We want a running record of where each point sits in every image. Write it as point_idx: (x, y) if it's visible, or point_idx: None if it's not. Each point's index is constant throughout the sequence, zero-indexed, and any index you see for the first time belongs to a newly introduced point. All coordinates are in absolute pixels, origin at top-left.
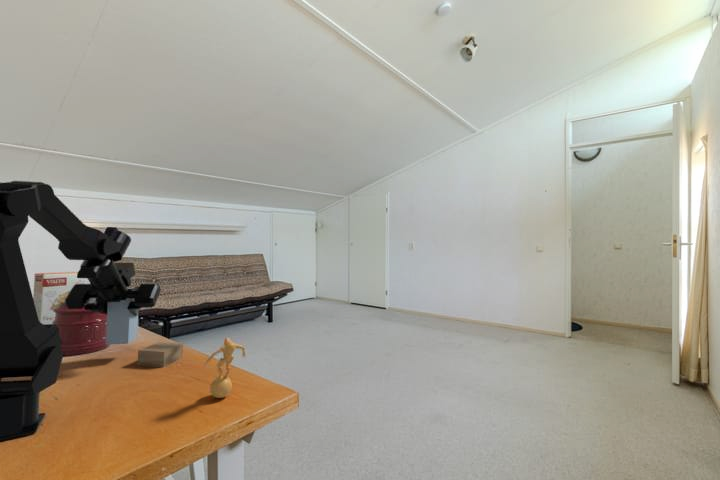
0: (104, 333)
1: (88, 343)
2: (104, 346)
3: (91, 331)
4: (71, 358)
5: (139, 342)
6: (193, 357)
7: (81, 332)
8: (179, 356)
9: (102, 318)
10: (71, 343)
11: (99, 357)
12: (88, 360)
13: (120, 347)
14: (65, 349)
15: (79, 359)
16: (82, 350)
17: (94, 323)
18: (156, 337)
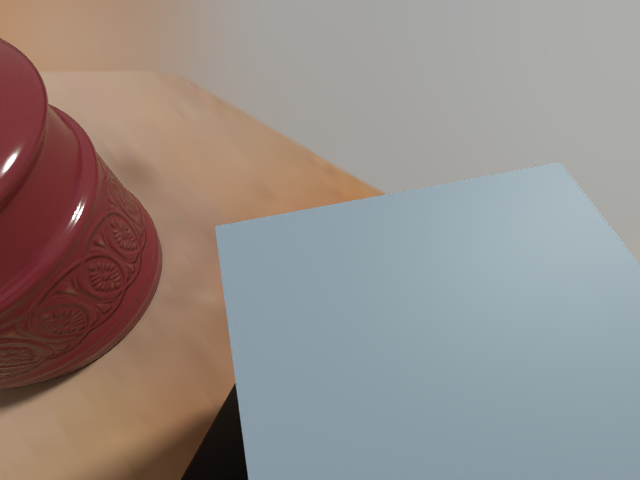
0: (130, 249)
1: (103, 330)
2: (158, 271)
3: (73, 303)
4: (91, 414)
5: (248, 188)
6: None
7: (22, 340)
8: None
9: (67, 215)
10: (19, 372)
11: (215, 385)
12: (192, 435)
13: (215, 248)
14: (14, 385)
15: (139, 425)
16: (99, 352)
17: (51, 274)
18: (271, 133)
